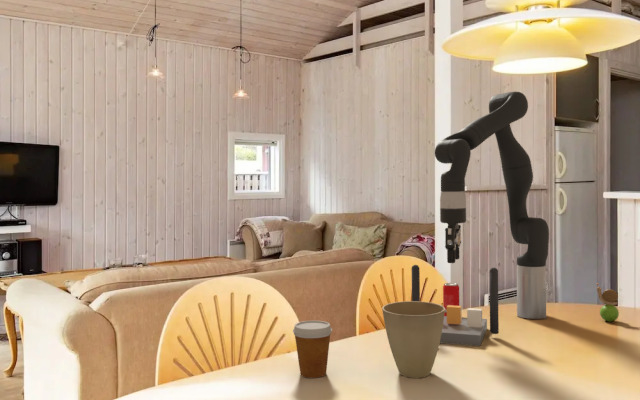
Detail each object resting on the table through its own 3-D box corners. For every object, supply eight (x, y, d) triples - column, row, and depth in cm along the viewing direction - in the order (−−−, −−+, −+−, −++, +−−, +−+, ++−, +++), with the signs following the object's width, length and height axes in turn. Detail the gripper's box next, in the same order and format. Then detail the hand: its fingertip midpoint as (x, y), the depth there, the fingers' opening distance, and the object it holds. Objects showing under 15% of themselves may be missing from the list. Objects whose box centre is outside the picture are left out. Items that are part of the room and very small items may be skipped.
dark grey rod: (420, 326, 178) (420, 264, 178) (419, 328, 176) (418, 265, 176) (413, 325, 179) (412, 264, 179) (411, 327, 177) (410, 265, 176)
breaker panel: (487, 328, 180) (486, 302, 179) (480, 346, 161) (479, 317, 161) (432, 324, 186) (431, 299, 186) (419, 341, 167) (419, 313, 167)
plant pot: (381, 363, 147) (380, 301, 147) (439, 363, 147) (439, 300, 146) (385, 384, 132) (384, 315, 132) (451, 383, 132) (450, 314, 131)
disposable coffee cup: (319, 383, 134) (318, 331, 134) (285, 376, 139) (284, 326, 139) (340, 371, 142) (339, 322, 142) (307, 365, 147) (306, 318, 147)
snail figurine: (598, 318, 190) (598, 281, 190) (620, 320, 187) (620, 283, 186) (595, 321, 186) (594, 284, 186) (617, 324, 182) (617, 286, 182)
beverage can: (440, 319, 192) (439, 283, 192) (452, 317, 194) (452, 282, 194) (450, 323, 188) (449, 286, 187) (462, 321, 190) (462, 284, 189)
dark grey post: (498, 332, 170) (498, 267, 169) (498, 334, 168) (497, 268, 167) (490, 331, 171) (489, 266, 170) (489, 333, 169) (489, 268, 168)
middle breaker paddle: (461, 322, 174) (461, 306, 174) (460, 324, 172) (460, 307, 171) (448, 321, 175) (447, 305, 175) (446, 323, 173) (446, 306, 173)
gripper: (462, 207, 164) (463, 264, 165) (468, 205, 178) (469, 258, 178) (436, 207, 167) (436, 263, 168) (444, 205, 180) (444, 257, 181)
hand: (453, 261), depth 173 cm, fingers open, 8 cm apart
